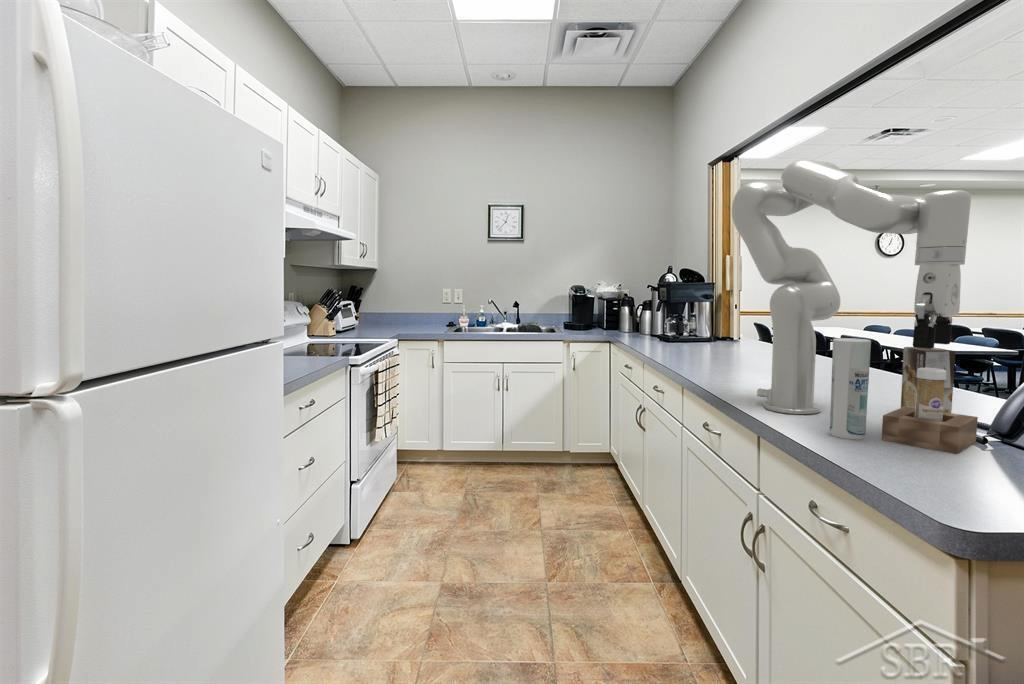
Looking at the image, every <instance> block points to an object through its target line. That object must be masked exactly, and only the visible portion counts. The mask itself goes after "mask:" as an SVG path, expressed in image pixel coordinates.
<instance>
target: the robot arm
mask: <svg viewBox="0 0 1024 684" xmlns="http://www.w3.org/2000/svg"><path fill="white" fill-rule="evenodd" d="M971 199H972V196H971V194H970V193H969V192H968V191H966V190H962V189H949V190H937V191H931V192H929V193H926V194H924V195H923V196H909V195H901V194H888V193H884V192H880V191H876V190H874V189H871V188H868V187H866V186H863V185H860V183H859V179H858V177H857V176H856V175H855V174H853V173H850V172H847V171H844V170H841V169H840V168H839V166H837V164H835V163H833V162H828V161H824V160H821V161H820V160H815V159H814V160H813V159H800V160H795V161H793V162H792V163H789V164H788V165H787V166H786V167H785V168H784V169H783V171H782V174H781V177H780V182H777V181H776V182H774V181H762V180H761V181H753V182H752V181H751V182H748V183H746V184H744V185H742V186H741V187H740V188H739V189H738V190H737V191H736V193H735V195H734V197H733V200H732V204H731V216H732V218H731V219H732V221H733V225H734V228H736V231H737V232H738V234H739V235H740V237H741V239H742V240H743V243H745V245H746V247H747V250H748V252H749V254H750V256H751V258H752V260H753V262H754V264H755V266H756V269H757V270H758V272H759V275H760V276H761V278H762V279H763V280H764V282H766V283H768V284H770V285H776V286H777V285H779V287H778V288H776V289H775V290H774V291H773V293H772V294H771V296H770V298H769V299H770V300H769V312H770V316H771V323H772V325H771V326H772V355H771V356H772V357H771V358H772V359H771V361H772V362H771V384H770V385H771V386H770V388H769V389H766V388H761V387H759V388H758V389H757V390H756V393H757V394H756V396H757V397H760V398H761V397H762V398H763V397H764V398H765V399H766V401H764V402H763V407H764V408H765V409H766V410H769V411H772V412H776V413H781V414H790V415H812V414H813V415H814V414H819V413H820V412H821V406H820V405H819V404H817V403H815V401H814V399H815V377H816V376H815V375H816V372H815V371H816V356H817V355H816V352H817V348H816V347H817V338H816V333H815V329H814V327H813V324H812V322H814V321H817V322H818V321H823V320H824V321H825V320H829V319H830V318H833V317H834V316H835V315H837V313H838V312H839V310H840V307H841V296H840V293H839V290H838V287H837V286H836V284H835V283H834V281H833V279H832V277H831V275H830V274H829V272H828V270H827V268H826V267H825V265H824V262H823V261H822V259H821V258H820V257H819V255H818V254H817V253H816V252H814V251H813V250H811V249H808V248H805V247H792V246H790V245H789V244H788V243H787V242H786V241H785V238H784V237H783V235H782V233H781V230H779V228H778V227H777V226H776V225H775V224H774V222H773V221H771V220H770V219H769V218H768V217H786V216H790V215H793V214H796V213H799V212H801V211H803V210H805V209H807V208H809V207H811V206H813V205H815V206H818V207H821V208H823V209H824V210H825V209H826V210H828V211H829V212H830V213H831V214H832V215H834V217H836V218H837V219H839V220H841V221H843V222H846V223H847V224H850V225H852V226H855V227H857V228H860V229H862V230H865V231H867V232H872V233H875V234H894V235H912V234H913V235H914V234H916V241H915V242H916V243H915V244H916V245H915V255H914V266H919V268H918V272H917V273H918V274H917V280H916V284H915V285H916V286H915V293H914V294H915V295H914V296H915V297H914V305H913V306H914V313H915V315H914V318H915V319H914V322H913V324H914V326H913V327H914V328H913V336H912V337H913V338H912V347H917V348H929V349H932V348H935V344H937V345H950V344H951V339H952V337H951V336H952V331H953V330H952V327H953V317H954V316H957V315H958V314H959V313H960V310H961V309H960V308H961V307H960V305H961V281H962V280H961V278H962V275H961V266H963V265H965V264H966V252H967V243H968V236H969V235H968V233H969V224H970V223H969V222H970V215H971V214H970V213H971V211H970V210H971V201H972V200H971ZM767 216H768V217H767ZM780 285H781V286H780Z"/></svg>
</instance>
